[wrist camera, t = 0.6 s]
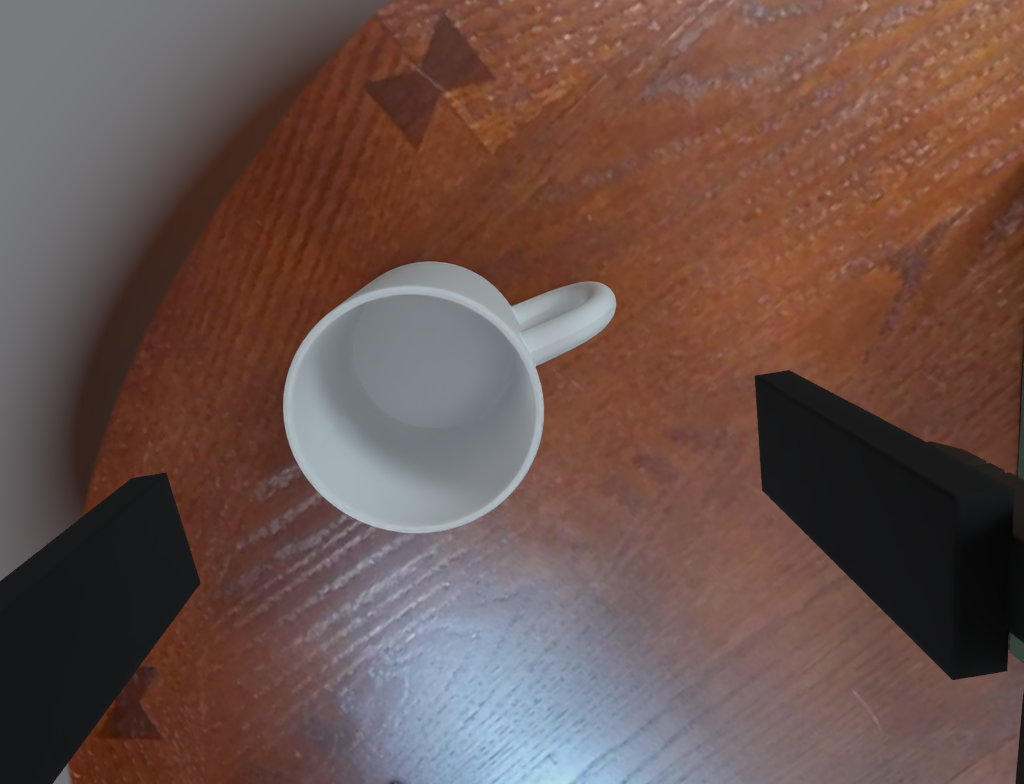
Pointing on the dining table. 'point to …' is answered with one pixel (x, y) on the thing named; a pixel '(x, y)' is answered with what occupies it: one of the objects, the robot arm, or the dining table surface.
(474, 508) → the cup
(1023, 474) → the green box
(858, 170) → the dining table surface
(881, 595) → the robot arm
